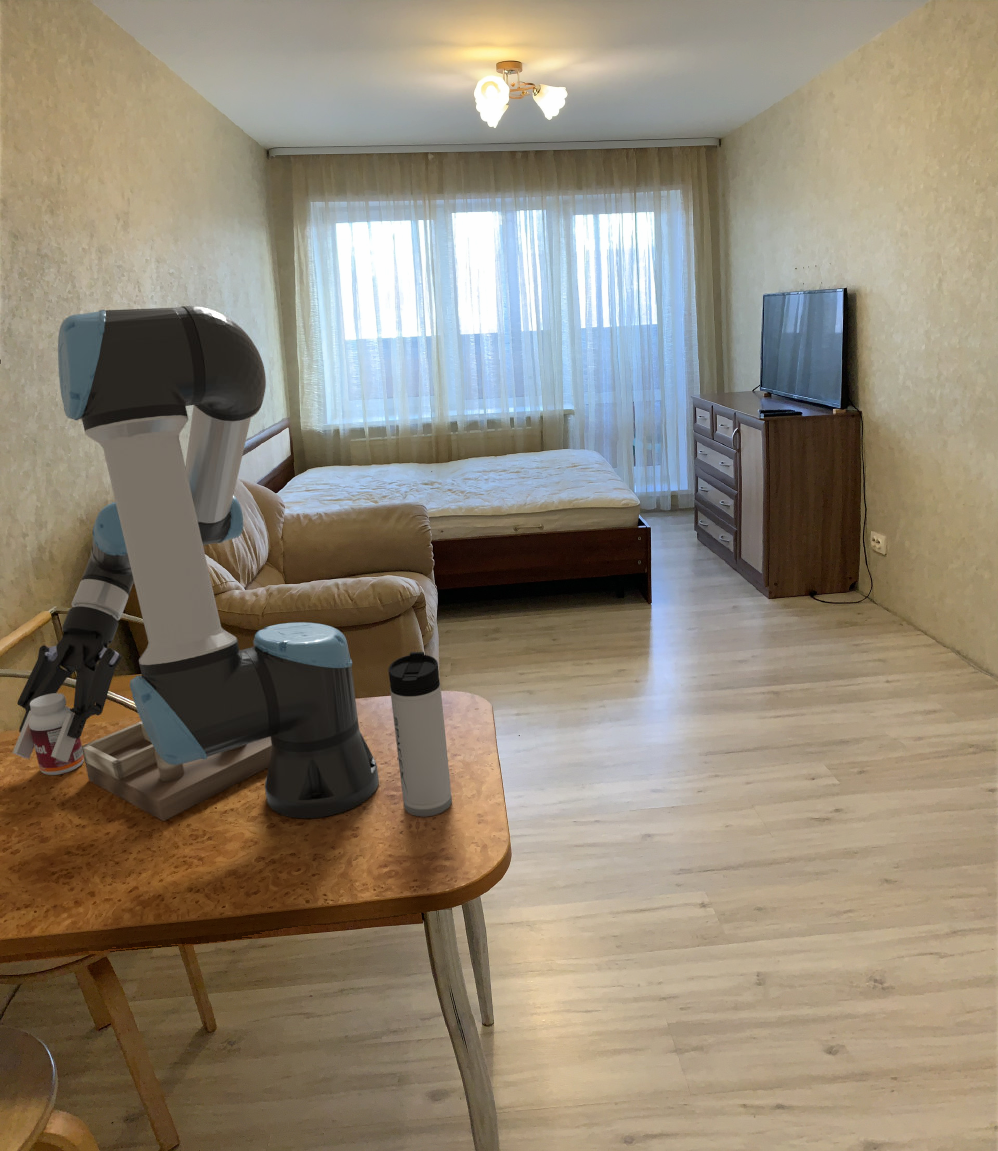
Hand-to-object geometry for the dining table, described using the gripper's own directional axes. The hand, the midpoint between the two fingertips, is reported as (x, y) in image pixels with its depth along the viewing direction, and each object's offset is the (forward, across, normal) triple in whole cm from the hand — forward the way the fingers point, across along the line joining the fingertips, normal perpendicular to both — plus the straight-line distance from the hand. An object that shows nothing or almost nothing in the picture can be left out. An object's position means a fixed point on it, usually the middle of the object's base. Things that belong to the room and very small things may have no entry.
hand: (40, 757), depth 129 cm
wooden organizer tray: (-2, -20, -6) cm, 22 cm away
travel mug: (+1, -59, -4) cm, 59 cm away
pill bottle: (0, 0, -5) cm, 5 cm away
